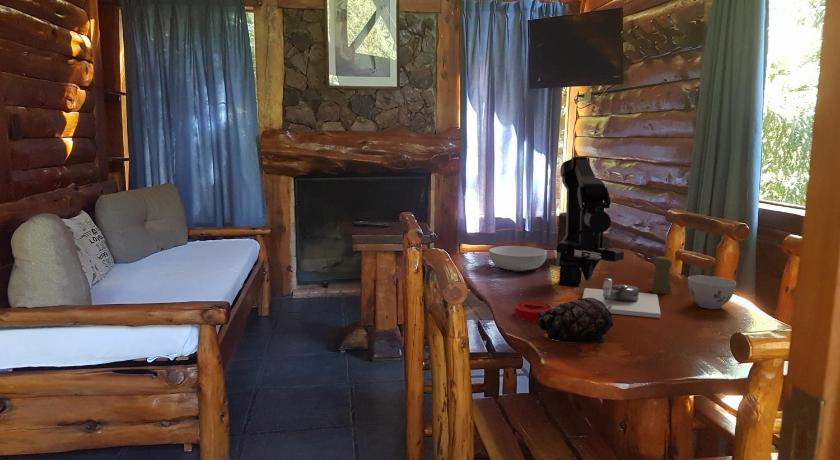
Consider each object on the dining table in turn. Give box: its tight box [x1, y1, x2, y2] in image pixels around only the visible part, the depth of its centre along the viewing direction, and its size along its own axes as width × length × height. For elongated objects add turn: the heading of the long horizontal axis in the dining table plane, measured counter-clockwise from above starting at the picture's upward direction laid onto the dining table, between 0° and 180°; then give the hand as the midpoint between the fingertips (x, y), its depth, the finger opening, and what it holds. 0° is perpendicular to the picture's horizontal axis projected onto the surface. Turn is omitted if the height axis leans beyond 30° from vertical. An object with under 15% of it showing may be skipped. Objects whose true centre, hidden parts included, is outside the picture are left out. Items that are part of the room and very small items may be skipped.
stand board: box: [581, 287, 661, 319], centre depth 175 cm, size 21×21×2 cm
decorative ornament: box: [514, 300, 553, 322], centre depth 163 cm, size 10×10×3 cm
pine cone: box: [536, 297, 614, 344], centre depth 145 cm, size 10×18×10 cm, turn 96°
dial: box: [602, 277, 640, 302], centre depth 174 cm, size 14×8×7 cm, turn 131°
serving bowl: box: [488, 245, 548, 272], centre depth 220 cm, size 21×21×7 cm
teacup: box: [687, 274, 737, 310], centre depth 174 cm, size 15×12×8 cm
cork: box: [650, 256, 673, 295], centre depth 189 cm, size 6×6×11 cm
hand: (587, 280), depth 174 cm, fingers closed
